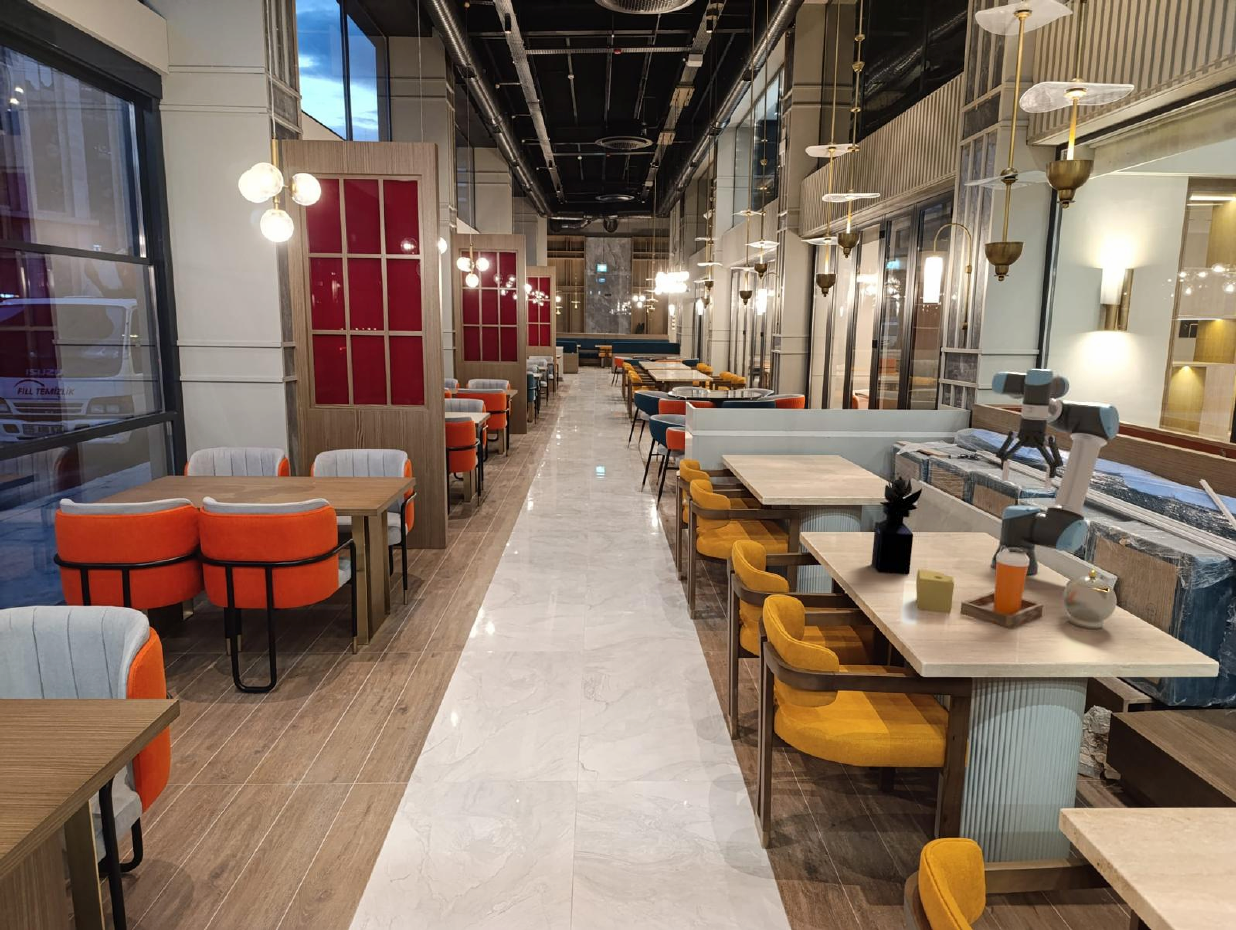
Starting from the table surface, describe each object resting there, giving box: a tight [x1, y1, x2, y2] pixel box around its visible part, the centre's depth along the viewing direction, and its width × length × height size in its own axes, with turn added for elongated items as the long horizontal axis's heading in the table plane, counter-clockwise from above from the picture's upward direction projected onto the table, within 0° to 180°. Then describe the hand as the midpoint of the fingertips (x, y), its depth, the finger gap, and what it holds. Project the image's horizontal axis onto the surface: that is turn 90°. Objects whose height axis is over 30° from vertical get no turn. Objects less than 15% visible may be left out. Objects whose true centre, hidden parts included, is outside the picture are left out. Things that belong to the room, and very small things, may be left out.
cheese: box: [915, 568, 955, 614], centre depth 246 cm, size 10×11×10 cm
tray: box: [959, 590, 1044, 630], centre depth 241 cm, size 20×15×4 cm
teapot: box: [1062, 570, 1117, 630], centre depth 236 cm, size 18×14×16 cm
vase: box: [871, 472, 923, 575], centre depth 282 cm, size 14×12×35 cm
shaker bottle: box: [993, 546, 1030, 615], centre depth 238 cm, size 9×9×20 cm
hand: (1025, 484), depth 255 cm, fingers open, 13 cm apart
